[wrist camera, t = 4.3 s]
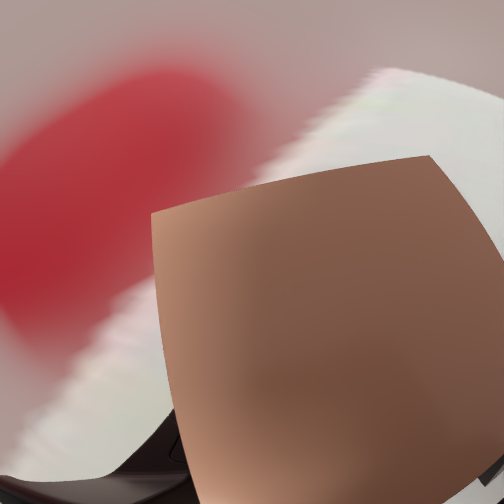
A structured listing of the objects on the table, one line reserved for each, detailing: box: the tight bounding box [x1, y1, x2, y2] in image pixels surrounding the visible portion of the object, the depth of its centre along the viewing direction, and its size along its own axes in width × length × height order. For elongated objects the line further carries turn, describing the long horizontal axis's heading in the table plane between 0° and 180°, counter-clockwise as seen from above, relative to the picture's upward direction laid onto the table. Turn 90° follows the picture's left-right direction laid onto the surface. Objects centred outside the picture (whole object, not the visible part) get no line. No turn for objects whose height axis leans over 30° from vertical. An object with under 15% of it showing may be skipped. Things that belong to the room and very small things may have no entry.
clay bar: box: [151, 155, 504, 504], centre depth 8 cm, size 5×5×13 cm
